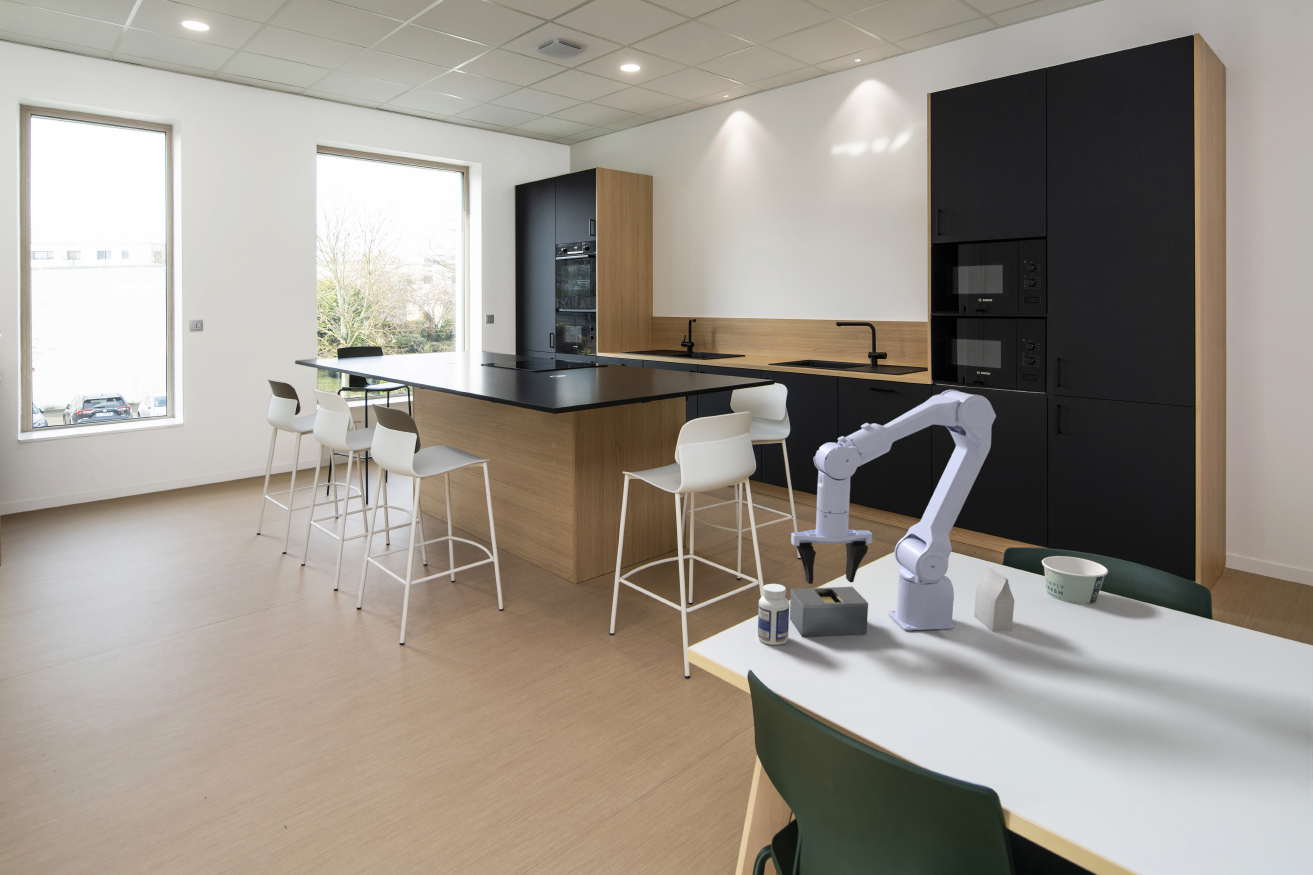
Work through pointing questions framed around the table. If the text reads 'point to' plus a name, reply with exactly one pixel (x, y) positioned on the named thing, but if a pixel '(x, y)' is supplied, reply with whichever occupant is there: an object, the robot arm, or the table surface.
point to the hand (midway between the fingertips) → (829, 581)
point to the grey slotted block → (828, 611)
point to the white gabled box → (994, 602)
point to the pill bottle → (773, 615)
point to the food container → (1073, 579)
